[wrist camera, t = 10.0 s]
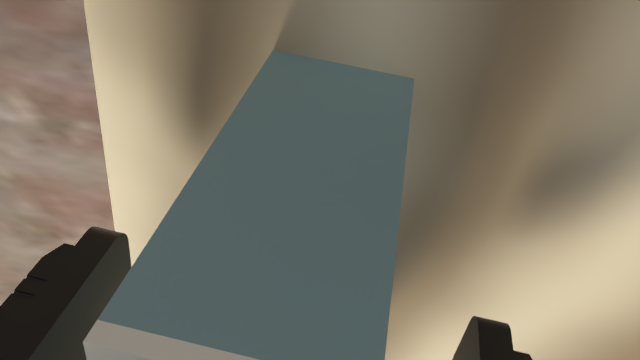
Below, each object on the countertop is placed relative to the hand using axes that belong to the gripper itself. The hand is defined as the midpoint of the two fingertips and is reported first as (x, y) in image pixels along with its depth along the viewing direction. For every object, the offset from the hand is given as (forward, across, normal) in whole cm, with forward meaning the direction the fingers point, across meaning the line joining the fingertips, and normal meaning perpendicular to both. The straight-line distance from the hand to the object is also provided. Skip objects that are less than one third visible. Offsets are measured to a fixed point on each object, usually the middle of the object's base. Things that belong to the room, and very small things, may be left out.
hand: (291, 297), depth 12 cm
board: (+4, -3, 0) cm, 5 cm away
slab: (+3, 0, 0) cm, 3 cm away
